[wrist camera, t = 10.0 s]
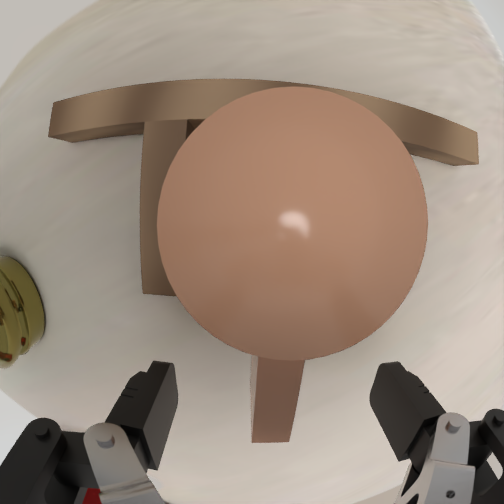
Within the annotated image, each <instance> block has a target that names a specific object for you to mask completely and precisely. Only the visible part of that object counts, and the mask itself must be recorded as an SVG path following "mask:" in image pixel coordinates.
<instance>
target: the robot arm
mask: <svg viewBox="0 0 504 504" xmlns="http://www.w3.org/2000/svg"><path fill="white" fill-rule="evenodd" d="M177 404H178V390H177V383H176V376H175V368H174V364H173V363H168V362H160V361H153V362H152V364H151V366H150V367H149V369H148V371H147V372H141V371H140V372H138V373H137V374H135V375H134V376H133V377H131V378H130V380H129V381H128V383H127V385H126V386H125V389H124V390H123V391H122V393H121V396H120V397H119V398H118V400H117V402H116V403H115V405H114V407H113V409H112V410H111V412H110V414H109V416H108V417H107V419H106V421H105V422H104V423H98V424H95V425H93V426H91V427H90V428H88V429H87V431H86V432H85V433H80V432H67V431H62V430H61V428H60V427H59V425H58V424H57V423H56V422H55V421H54V420H51V419H48V418H39V419H35V420H33V421H31V422H30V423H29V424H28V425H27V427H26V428H25V429H24V431H23V432H22V434H21V435H20V437H19V438H18V440H17V441H16V443H15V444H14V446H13V447H12V449H11V450H10V452H9V453H8V455H7V456H6V458H5V460H4V461H3V463H2V464H1V466H0V504H82V503H83V500H84V497H85V494H86V492H87V489H88V488H96V489H100V491H101V493H99V497H100V500H101V503H102V504H165V502H164V501H163V499H162V498H161V496H160V494H159V493H158V491H157V490H156V488H155V486H154V485H153V483H152V482H151V481H150V480H149V478H148V476H147V475H146V472H147V469H153V470H158V467H159V464H160V461H161V457H162V454H163V451H164V447H165V444H166V441H167V438H168V434H169V431H170V428H171V425H172V421H173V418H174V415H175V412H176V409H177ZM370 405H371V407H372V409H373V411H374V413H375V415H376V417H377V419H378V421H379V423H380V425H381V427H382V429H383V431H384V433H385V435H386V437H387V439H388V441H389V443H390V445H391V447H392V449H393V451H394V453H395V455H396V457H397V459H398V461H403V460H406V459H409V458H410V460H411V463H410V465H409V466H408V469H407V472H406V475H405V477H404V480H403V483H402V486H401V488H400V491H399V493H398V496H397V498H396V501H395V503H394V504H504V411H503V410H500V409H492V410H489V411H488V412H487V413H486V415H485V416H484V418H483V420H482V421H473V422H468V420H467V419H466V418H465V417H464V416H462V415H460V414H458V413H446V411H445V410H444V409H443V408H442V406H441V405H440V404H439V403H438V401H437V400H436V399H435V397H434V396H433V395H432V394H431V392H430V393H429V390H428V389H427V387H426V386H425V387H424V384H423V382H422V381H421V380H420V379H419V378H418V377H417V376H415V375H414V374H412V373H411V372H409V371H408V372H407V371H406V370H405V368H404V367H403V366H402V365H401V363H400V362H398V361H397V362H390V363H382V364H380V366H379V368H378V371H377V374H376V377H375V380H374V383H373V386H372V389H371V392H370ZM492 452H493V453H494V455H495V456H496V458H497V459H498V461H499V463H500V464H501V466H502V468H503V474H502V476H501V478H500V479H499V480H498V479H497V477H496V475H495V473H494V472H493V470H492V469H491V467H490V465H489V464H488V462H487V461H486V460H487V458H488V457H489V456H490V455H491V453H492Z"/></svg>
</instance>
